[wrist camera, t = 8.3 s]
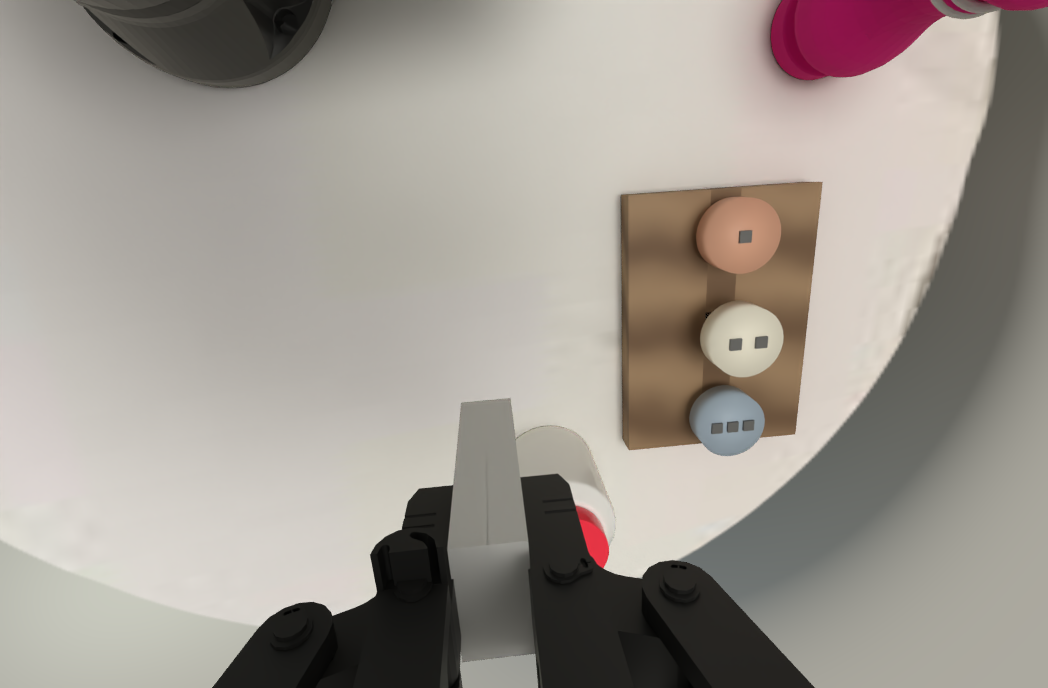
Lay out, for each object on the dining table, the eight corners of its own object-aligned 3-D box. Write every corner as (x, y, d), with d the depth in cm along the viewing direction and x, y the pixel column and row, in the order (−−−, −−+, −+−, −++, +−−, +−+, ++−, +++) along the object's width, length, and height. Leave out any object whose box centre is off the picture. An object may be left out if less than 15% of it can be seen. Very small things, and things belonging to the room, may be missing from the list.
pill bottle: (608, 477, 45) (646, 566, 35) (532, 519, 46) (546, 619, 35) (564, 409, 43) (591, 483, 32) (485, 454, 44) (486, 541, 33)
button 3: (680, 377, 42) (701, 399, 38) (740, 372, 42) (768, 393, 38) (678, 433, 43) (699, 460, 39) (736, 427, 44) (763, 454, 39)
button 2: (689, 296, 38) (715, 311, 34) (755, 291, 39) (788, 304, 34) (687, 360, 40) (711, 381, 36) (750, 354, 40) (781, 374, 36)
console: (621, 194, 38) (628, 195, 36) (805, 181, 39) (822, 182, 37) (622, 438, 44) (628, 450, 42) (781, 423, 45) (795, 434, 43)
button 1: (685, 198, 37) (710, 200, 33) (752, 193, 38) (786, 194, 34) (683, 266, 39) (707, 277, 35) (747, 261, 39) (779, 271, 35)
